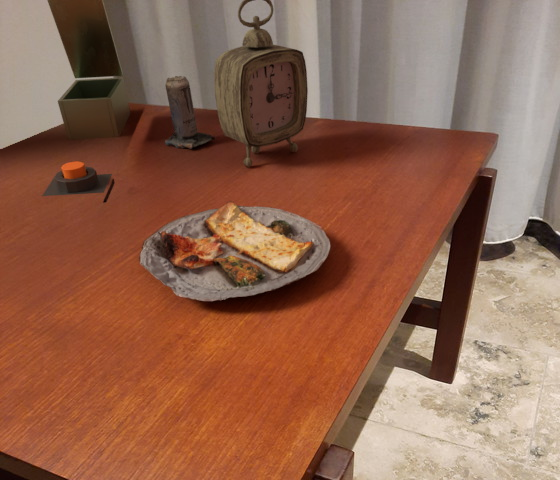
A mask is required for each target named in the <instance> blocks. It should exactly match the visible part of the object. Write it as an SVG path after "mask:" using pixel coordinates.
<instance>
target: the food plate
mask: <svg viewBox="0 0 560 480" xmlns="http://www.w3.org/2000/svg"><path fill="white" fill-rule="evenodd" d="M330 251H331V240H330V238H329V237H328V236H327V233H326V232H325V229H324V228H322V227H321V226H320V225H319V224H317V223H315V222H314V221H312V220H310V219H308V218H306V217H303V216H301V215H298V214H297V213H294V212H290V211H289V210H284V209H282V208H275V207H268V206H259V205H257V206H248V205H245V206H244V205H237V204H236V203H235V200H227V201H226V203H225V204H223V205H222V206H221V207H219V208H211V209H207V210H204V211H199V212H196V213H192V214H188V215H183V216H181V217H179V218H177V219H174V220H171V221H169V222H167V223H165V224H164V225H163V226H161V227H160V228H158V230H156V231H154V232H153V233H152V234H151V235H150V236H148V237H146V239H145V240H144V241H143V243H142V246H141V250H140V252H139V257H138V261H139V265H141V267H143V268H144V269H145V270H146V271H148V272H149V274H151V275H152V276H153V277H154V278H155V279H156V280H157V281H160V282H161V283H162V284H163V285H164V286H166V287H168V288H170V289H171V290H172V292H173V293H174V295H176V296H177V297H181V298H186V299H189V300H197V301H202V302H215V301H222V300H224V301H225V300H227V299H229V298H239V297H249V296H256V295H259V294H263V293H265V292H270V291H275V290H277V289H279V288H281V287H284V286H286V285H291V284H292V283H293V282H295V281H296V282H298V281H299V280H301V279H302V278H305V277H306V276H308V275H310V274H312V273H314V272H316V271H318V270H319V268H320V267H321V266H322V265H323V264H324V262H325V260H326V259H327V258H328V255H329V254H330Z"/></svg>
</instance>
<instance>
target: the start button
mask: <svg viewBox="0 0 560 480" xmlns="http://www.w3.org/2000/svg"><path fill="white" fill-rule="evenodd" d="M85 166H86V165H85V163H84V162H83V161H70V162H69V161H68V162H67V163H64V164H63V165H62V166H61V171H63V175H64V178H66V179H76V178H80V177H83V176H85V175H87V173H86V169H85Z"/></svg>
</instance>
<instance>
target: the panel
mask: <svg viewBox="0 0 560 480" xmlns="http://www.w3.org/2000/svg"><path fill="white" fill-rule="evenodd" d="M85 169H86V173H87V175H85V176H83V177H80V178H76V179H66V178H64V175H63V171H62V170H60V171H58V172H56V173H55V175H54V176H53V178H52V180H51V181H50V182H49V184H48V186H47V188H46V189H45V190H44V192H43V193H42V195H41V196H42V197H51V196H53V197H54V196H69V195H71V196H72V195H85V194H87V195H88V194H104V193H105V191H106V189H107V186H108V184H109V182H110V180H111V177H112V175H113V173H102V174H101V173H100V174H98V173H97V170H96V169H94V167H91V166H86V165H85ZM114 186H115V179H114V177H113V178H112V180H111V183H110V185H109V187H108V190H107V192H106V194H105V196H104V199H103V200H102V203H103V204H105V203H107V202H108V200H109V198H110V196H111V193H112V190H113V188H114Z"/></svg>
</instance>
